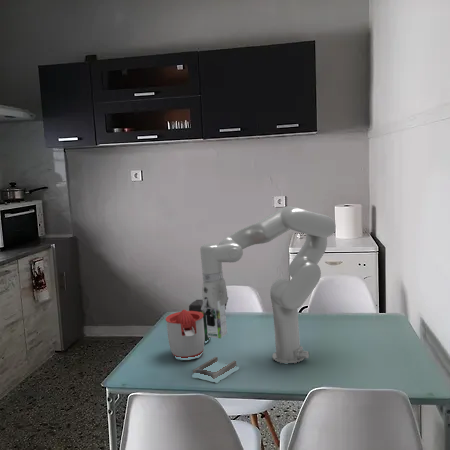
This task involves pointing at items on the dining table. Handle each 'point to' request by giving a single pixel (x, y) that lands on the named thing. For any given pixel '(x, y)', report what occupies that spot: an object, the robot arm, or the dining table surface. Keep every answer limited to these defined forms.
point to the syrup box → (218, 322)
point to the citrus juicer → (186, 333)
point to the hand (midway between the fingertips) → (216, 322)
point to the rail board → (214, 374)
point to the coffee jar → (197, 307)
